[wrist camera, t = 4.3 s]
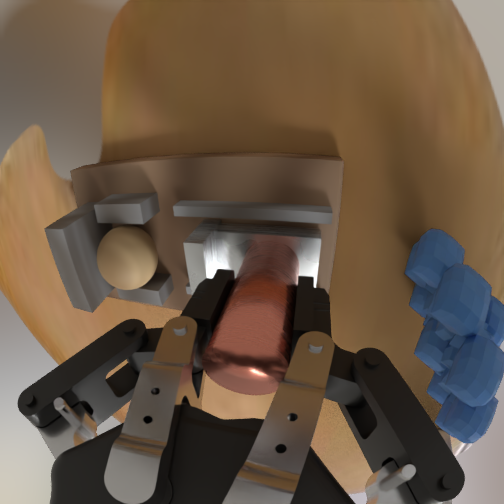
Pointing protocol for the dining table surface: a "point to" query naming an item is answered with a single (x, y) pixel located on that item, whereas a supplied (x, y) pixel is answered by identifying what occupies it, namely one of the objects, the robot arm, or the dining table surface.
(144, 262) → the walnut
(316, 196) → the base
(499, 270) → the dining table surface
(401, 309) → the dining table surface
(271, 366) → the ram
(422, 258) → the grapes
